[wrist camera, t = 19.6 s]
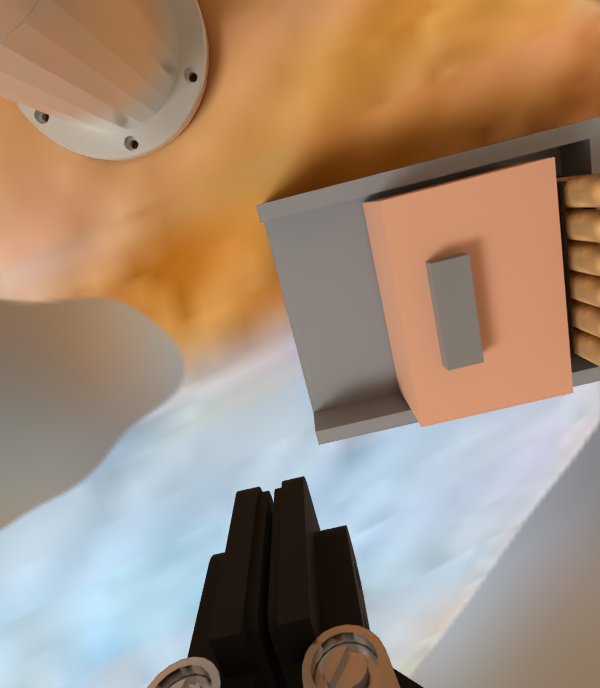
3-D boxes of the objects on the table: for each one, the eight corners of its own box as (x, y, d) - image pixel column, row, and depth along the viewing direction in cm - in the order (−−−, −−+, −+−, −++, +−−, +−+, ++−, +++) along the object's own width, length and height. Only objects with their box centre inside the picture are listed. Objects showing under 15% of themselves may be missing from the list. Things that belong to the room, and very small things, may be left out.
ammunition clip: (556, 332, 32) (703, 402, 21) (530, 338, 32) (662, 411, 21) (544, 175, 29) (708, 154, 18) (515, 182, 29) (660, 166, 18)
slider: (502, 166, 29) (565, 154, 22) (523, 359, 33) (583, 399, 26) (362, 202, 29) (383, 201, 23) (399, 388, 33) (426, 435, 26)
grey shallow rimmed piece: (561, 128, 30) (606, 114, 26) (578, 354, 34) (619, 376, 30) (261, 205, 31) (256, 205, 27) (315, 415, 35) (318, 444, 31)
